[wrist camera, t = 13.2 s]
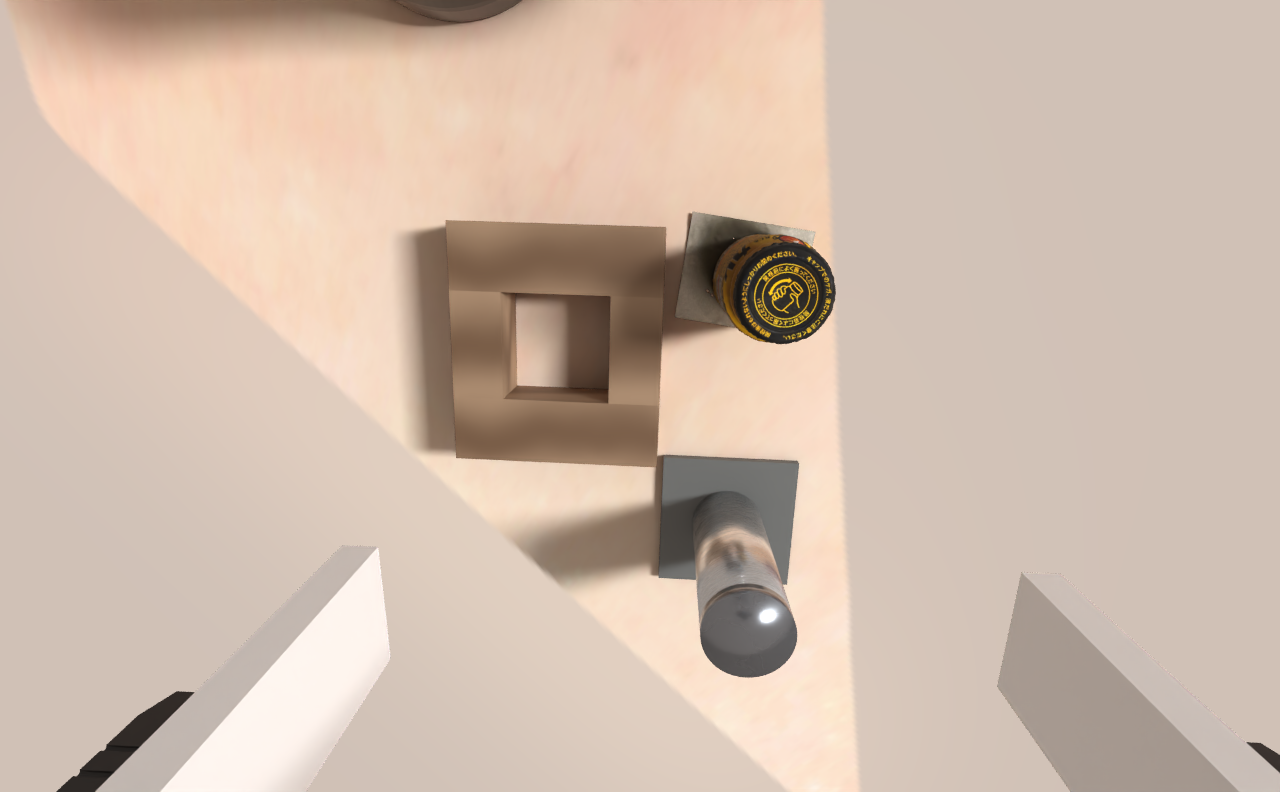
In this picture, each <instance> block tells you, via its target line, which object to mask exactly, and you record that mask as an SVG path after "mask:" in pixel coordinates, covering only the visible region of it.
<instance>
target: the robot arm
mask: <svg viewBox="0 0 1280 792" xmlns="http://www.w3.org/2000/svg"><path fill="white" fill-rule="evenodd" d="M395 1H397V2H398V3H400V4H401V5H403V6H405V7H406V8H408V9H410V10H412V11H414V12H416V13H419V14H421V15H424V16H427V17H430V18H434V19H438V20H444V21H454V22H465V21H475V20H480V19H484V18H488V17H491V16H494V15H497V14H499V13H501V12H503V11H505V10H507V9H509V8H511V7H513V6H514V5H516V4H517V3H519V2H520V1H521V0H395ZM390 658H391V657H390V648H389V640H388V630H387V621H386V613H385V604H384V595H383V586H382V578H381V568H380V560H379V551H378V547H367V546H341V547H340V548H339V549H338V550H337V551H336V552H335V553H334V554H333V555H332V556H331V557H330V558H329V559H328V560H327V561H326V562H325V563H324V564H323V565H322V566H321V567H320V568H319V569H318V570H317V571H316V572H315V573H314V574H313V575H312V576H311V577H310V578H309V579H308V580H307V581H306V582H305V583H304V584H303V585H302V586H301V587H300V588H299V589H298V590H297V591H296V592H295V593H294V594H293V595H292V596H291V597H290V598H289V599H288V600H287V601H286V602H285V603H284V604H283V605H282V606H281V607H280V608H279V609H278V610H277V611H276V612H275V613H274V614H273V615H272V616H271V617H270V618H269V619H268V620H267V621H266V622H265V623H264V624H263V625H262V626H261V627H260V628H259V629H258V630H257V631H256V632H255V633H254V634H253V635H252V636H251V637H250V638H249V639H248V640H247V641H246V642H245V643H244V644H243V645H242V646H241V647H240V648H239V649H238V650H237V651H236V652H235V653H234V654H233V655H232V656H231V657H230V658H229V659H228V660H227V661H226V662H225V663H224V664H223V665H222V666H221V667H220V668H219V669H218V670H217V671H216V672H215V673H214V674H213V675H212V676H211V677H210V678H209V679H208V680H207V681H206V682H205V683H204V684H203V685H202V686H201V687H200V688H199V689H198V690H197V691H196V692H179V691H178V692H175V693H174V694H172V695H170V696H169V697H167V698H166V699H164V700H162V701H161V702H159V703H157V704H156V705H154V706H153V707H151V708H150V709H148V710H146V711H145V712H143V713H141V714H140V715H138V716H137V717H136V718H135V719H134V720H133V721H132V722H131V723H130V724H128V725H127V726H126V727H125V728H124V729H123V730H122V731H121V732H120V733H119V734H118V735H117V736H116V737H115V738H113V739H112V740H111V741H110V742H109V743H108V744H107V747H106V749H105V750H104V751H100V752H98V753H97V754H96V755H95V756H94V757H93V758H92V759H91V760H90V761H89V762H88V763H87V764H86V765H85V766H84V767H82V769H80V773H79V775H78V776H76V777H75V776H73V777H72V778H71V779H70V780H68V782H66V783H65V784H64V785H63V786H62V787H61V788H60V789H59V790H58V791H57V792H306V790H307V789H308V787H309V786H310V784H311V783H312V781H313V780H314V778H315V776H316V775H317V773H318V772H319V770H320V768H321V767H322V765H323V764H324V762H325V761H326V759H327V758H328V756H329V754H330V753H331V751H332V750H333V748H334V746H335V745H336V743H337V742H338V740H339V739H340V737H341V735H342V734H343V732H344V731H345V729H346V728H347V726H348V724H349V723H350V721H351V720H352V718H353V717H354V715H355V714H356V712H357V710H358V709H359V707H360V706H361V704H362V702H363V701H364V699H365V698H366V696H367V695H368V693H369V691H370V690H371V688H372V686H373V685H374V684H375V682H376V680H377V679H378V677H379V676H380V674H381V673H382V671H383V669H384V668H385V666H386V665H387V663H388V661H389V660H390ZM997 687H998V688H999V690H1000V691H1001V693H1002V694H1003V696H1004V697H1005V699H1006V700H1007V701H1008V703H1009V704H1010V706H1011V707H1012V709H1013V710H1014V711H1015V713H1016V714H1017V716H1018V717H1019V718H1020V720H1021V721H1022V723H1023V724H1024V726H1025V727H1026V729H1027V730H1028V731H1029V733H1030V734H1031V736H1032V737H1033V739H1034V740H1035V741H1036V743H1037V744H1038V746H1039V747H1040V749H1041V750H1042V751H1043V753H1044V754H1045V756H1046V757H1047V759H1048V760H1049V761H1050V763H1051V764H1052V766H1053V767H1054V769H1055V770H1056V772H1057V773H1058V774H1059V776H1060V777H1061V779H1062V780H1063V782H1064V783H1065V784H1066V786H1067V787H1068V789H1069V790H1070V792H1280V755H1278V754H1277V753H1276V752H1274V751H1272V750H1271V749H1269V748H1267V747H1266V746H1264V745H1263V744H1261V743H1249V742H1245V741H1244V740H1243V739H1242V738H1241V737H1240V736H1238V735H1237V734H1236V733H1235V732H1234V731H1233V730H1232V729H1231V728H1230V727H1228V726H1227V725H1226V724H1225V723H1224V722H1223V721H1222V720H1221V719H1220V718H1219V717H1217V716H1216V715H1215V714H1214V713H1213V712H1212V711H1211V710H1210V709H1209V708H1207V706H1205V705H1204V704H1203V703H1202V702H1201V701H1200V700H1199V699H1198V698H1197V697H1196V696H1194V695H1193V694H1192V693H1191V692H1190V691H1189V690H1188V689H1187V688H1186V687H1185V686H1184V685H1182V684H1181V683H1180V682H1179V681H1178V680H1177V679H1176V678H1175V677H1174V676H1172V675H1171V674H1170V673H1169V672H1168V671H1167V670H1166V669H1165V668H1164V667H1163V666H1162V665H1160V664H1159V663H1158V662H1157V661H1156V660H1155V659H1154V658H1153V657H1152V656H1151V655H1149V654H1148V653H1147V652H1146V651H1145V650H1144V649H1143V648H1142V647H1141V646H1140V645H1138V644H1137V643H1136V642H1135V641H1134V640H1133V639H1132V638H1131V637H1130V636H1128V635H1127V634H1126V633H1125V632H1124V631H1123V630H1122V629H1121V628H1120V627H1119V626H1118V625H1116V624H1115V623H1114V622H1113V621H1112V620H1111V619H1110V618H1109V617H1108V616H1106V615H1105V614H1104V613H1103V612H1102V611H1101V610H1100V609H1099V608H1098V607H1097V606H1096V605H1094V604H1093V603H1092V602H1091V601H1090V600H1089V599H1088V598H1087V597H1086V596H1085V595H1083V594H1082V593H1081V592H1080V591H1079V590H1078V589H1077V588H1076V587H1075V586H1073V585H1072V584H1071V583H1070V582H1069V581H1068V580H1067V579H1066V578H1065V577H1064V576H1063V575H1061V574H1052V573H1028V572H1021V577H1020V581H1019V586H1018V591H1017V595H1016V600H1015V605H1014V610H1013V614H1012V619H1011V624H1010V629H1009V633H1008V638H1007V642H1006V648H1005V652H1004V656H1003V661H1002V666H1001V671H1000V675H999V680H998V685H997Z"/></svg>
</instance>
